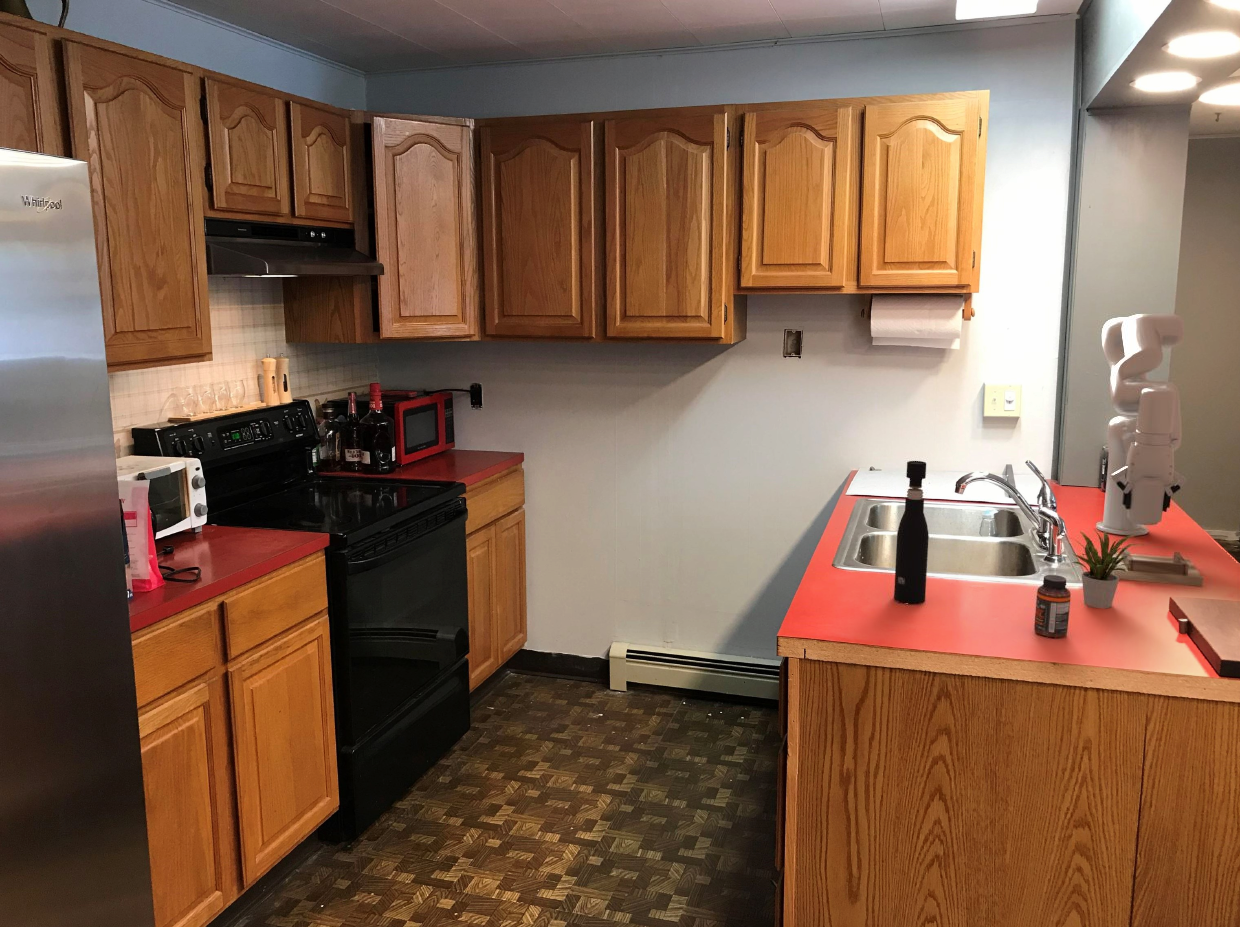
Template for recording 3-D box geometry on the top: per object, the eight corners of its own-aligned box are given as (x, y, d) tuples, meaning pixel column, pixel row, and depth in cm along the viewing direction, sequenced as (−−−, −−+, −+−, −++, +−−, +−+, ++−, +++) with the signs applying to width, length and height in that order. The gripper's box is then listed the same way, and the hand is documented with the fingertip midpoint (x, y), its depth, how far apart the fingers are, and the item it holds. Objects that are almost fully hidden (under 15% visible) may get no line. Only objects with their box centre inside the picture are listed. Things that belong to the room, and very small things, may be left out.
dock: (1104, 559, 237) (1105, 542, 236) (1187, 566, 231) (1189, 548, 230) (1112, 578, 222) (1114, 559, 222) (1202, 586, 216) (1204, 566, 216)
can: (1153, 517, 242) (1158, 471, 240) (1166, 526, 235) (1172, 478, 233) (1121, 517, 243) (1126, 470, 241) (1134, 526, 236) (1139, 478, 233)
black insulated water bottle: (925, 596, 210) (933, 460, 204) (924, 605, 204) (932, 465, 199) (894, 593, 212) (901, 458, 207) (892, 602, 206) (899, 464, 201)
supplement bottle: (1027, 628, 191) (1032, 573, 189) (1057, 627, 191) (1061, 572, 189) (1043, 639, 185) (1048, 582, 183) (1073, 638, 185) (1078, 581, 183)
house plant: (1152, 604, 204) (1159, 529, 201) (1130, 621, 195) (1137, 542, 192) (1081, 590, 214) (1088, 518, 211) (1057, 604, 204) (1063, 529, 201)
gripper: (1190, 437, 235) (1182, 507, 239) (1111, 434, 241) (1104, 502, 245) (1197, 443, 228) (1188, 516, 232) (1115, 440, 234) (1107, 510, 238)
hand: (1145, 508), depth 238 cm, fingers closed on can, 7 cm apart
